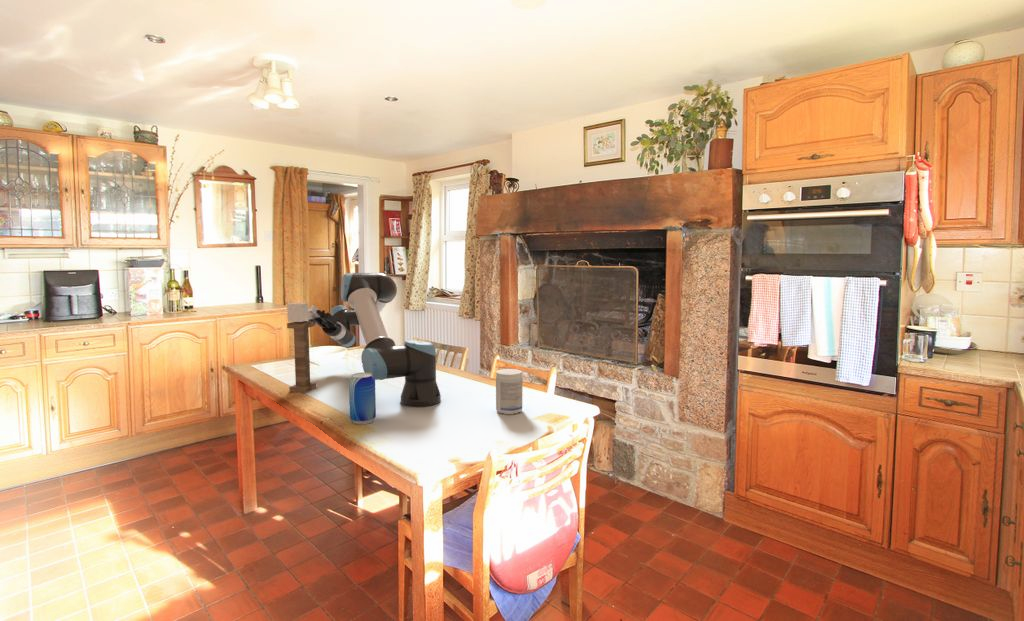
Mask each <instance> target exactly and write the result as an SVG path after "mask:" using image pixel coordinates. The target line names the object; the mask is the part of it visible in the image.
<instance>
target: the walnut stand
mask: <svg viewBox="0 0 1024 621" xmlns="http://www.w3.org/2000/svg"><path fill="white" fill-rule="evenodd" d="M315 326H316V325H314V321H303V322H292V321H290V322H287V323H286V329H292V330H293V343H294V344H293V345H294V349H293V350H294V374H295V377H294V378H295V384H293V385H291V386H289V392H290V391H292V392H291V393H298V392H301V393H302V394H306V392H307V393H309V392H310V390H311V391H313V390H316V389H317V382H311V367H310V365H311V364H310V363H311V362H310V339H309V338H310V336H309V335H310V334H309V333H310V332H309V329H310V328H312V327H315ZM312 389H313V390H312ZM308 391H309V392H308Z"/></svg>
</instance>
